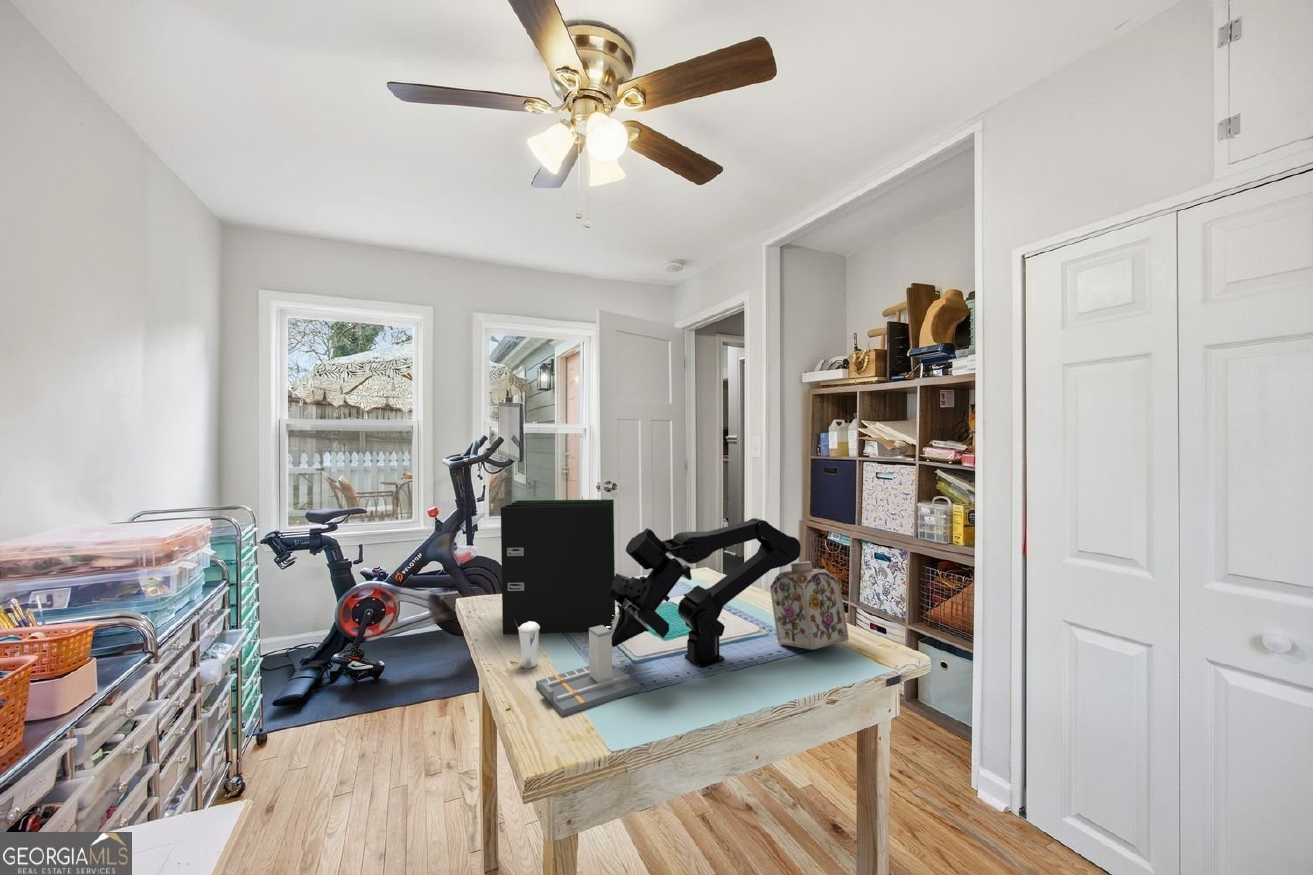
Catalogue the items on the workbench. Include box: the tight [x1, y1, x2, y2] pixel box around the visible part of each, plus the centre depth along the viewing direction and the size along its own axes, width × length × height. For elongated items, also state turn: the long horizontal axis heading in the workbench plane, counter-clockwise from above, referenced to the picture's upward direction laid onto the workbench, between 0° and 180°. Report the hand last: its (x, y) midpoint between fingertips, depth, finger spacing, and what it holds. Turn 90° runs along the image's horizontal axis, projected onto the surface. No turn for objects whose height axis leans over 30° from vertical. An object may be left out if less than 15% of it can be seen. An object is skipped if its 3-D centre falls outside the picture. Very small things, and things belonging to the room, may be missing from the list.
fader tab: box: [588, 625, 613, 683], centre depth 102 cm, size 3×4×10 cm
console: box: [535, 662, 640, 717], centre depth 100 cm, size 17×13×3 cm
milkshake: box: [515, 621, 540, 669], centre depth 111 cm, size 4×5×10 cm
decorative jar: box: [769, 560, 850, 651], centre depth 119 cm, size 12×12×18 cm
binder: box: [500, 499, 616, 636], centre depth 135 cm, size 27×15×32 cm, turn 89°
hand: (611, 645), depth 104 cm, fingers closed
